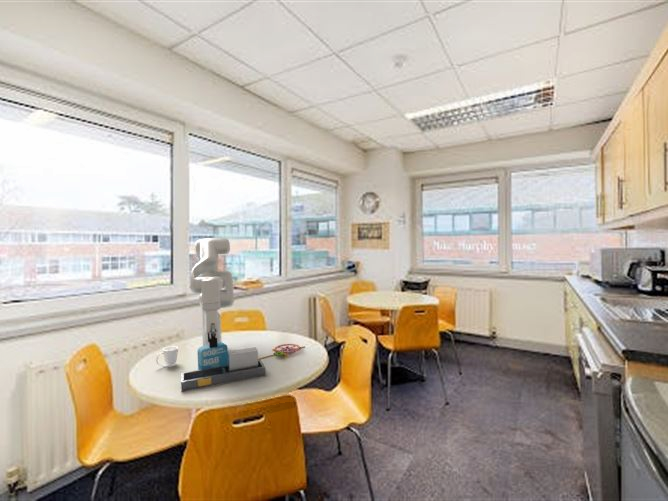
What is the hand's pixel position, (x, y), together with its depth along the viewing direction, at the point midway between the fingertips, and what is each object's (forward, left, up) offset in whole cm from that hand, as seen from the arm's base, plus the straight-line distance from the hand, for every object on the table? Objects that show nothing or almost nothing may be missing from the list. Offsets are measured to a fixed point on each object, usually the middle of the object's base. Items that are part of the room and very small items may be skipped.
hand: (212, 344), depth 151 cm
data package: (-1, 0, -13) cm, 13 cm away
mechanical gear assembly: (-10, +33, -14) cm, 37 cm away
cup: (-18, -19, -13) cm, 29 cm away
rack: (+9, +4, -13) cm, 16 cm away
